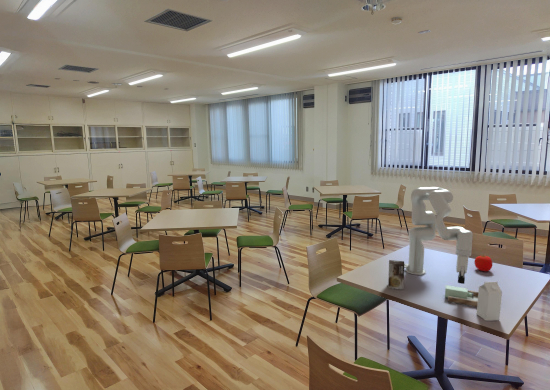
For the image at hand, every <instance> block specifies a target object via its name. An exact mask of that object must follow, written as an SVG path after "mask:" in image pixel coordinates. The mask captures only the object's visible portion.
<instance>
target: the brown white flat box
mask: <svg viewBox="0 0 550 390" xmlns="http://www.w3.org/2000/svg"><path fill="white" fill-rule="evenodd" d="M467 290H468V293H474V296H473V299H472V298H470V297H467V299H463V298H457V297H451V296H448V297H447V302H448V303H452V304H458V305H463V306H468V307H473V308H477V303H478V292H479V291H475V290H469V289H467Z"/></svg>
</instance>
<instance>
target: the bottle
mask: <svg viewBox="0 0 550 390" xmlns="http://www.w3.org/2000/svg"><path fill="white" fill-rule="evenodd" d="M468 290H469V289H468V288H465V287H461V286H460V287H459V286H453V285H448V284H445V289H444V297H445V298H448V296H451V297H457V298H463V299H467V297H470V298H472V299H473V296H474V293H468Z"/></svg>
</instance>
